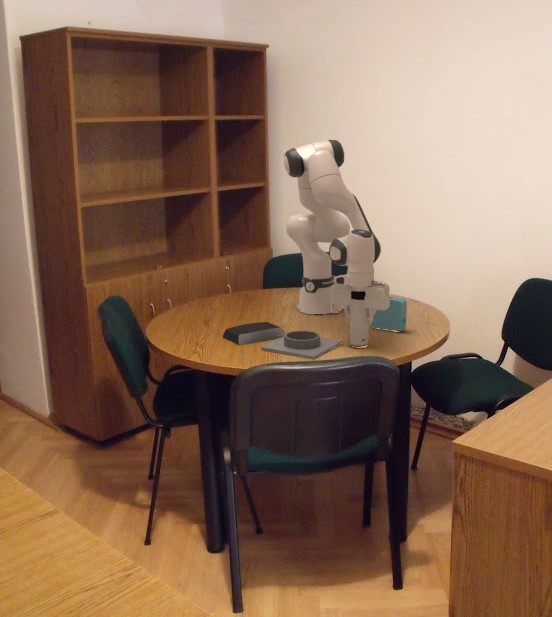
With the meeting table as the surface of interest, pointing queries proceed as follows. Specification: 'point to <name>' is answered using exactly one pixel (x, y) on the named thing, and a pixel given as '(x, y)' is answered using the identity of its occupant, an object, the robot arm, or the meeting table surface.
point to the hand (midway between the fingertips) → (359, 319)
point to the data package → (391, 315)
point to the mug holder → (301, 344)
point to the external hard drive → (253, 333)
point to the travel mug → (358, 320)
